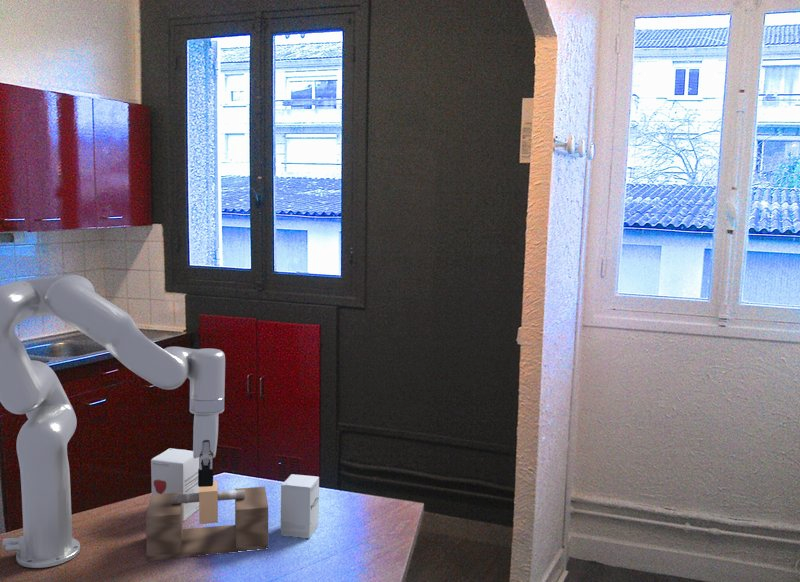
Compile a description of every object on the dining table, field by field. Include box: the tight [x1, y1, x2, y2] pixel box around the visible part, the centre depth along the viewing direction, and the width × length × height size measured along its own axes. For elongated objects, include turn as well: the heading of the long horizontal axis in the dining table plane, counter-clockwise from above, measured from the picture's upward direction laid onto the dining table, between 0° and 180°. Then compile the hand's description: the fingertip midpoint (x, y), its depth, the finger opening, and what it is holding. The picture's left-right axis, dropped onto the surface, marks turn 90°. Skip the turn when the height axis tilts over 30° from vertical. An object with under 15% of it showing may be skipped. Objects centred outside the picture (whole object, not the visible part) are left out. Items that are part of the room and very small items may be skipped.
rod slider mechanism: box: [145, 486, 269, 562], centre depth 167 cm, size 26×12×12 cm, turn 104°
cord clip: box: [198, 480, 219, 525], centre depth 166 cm, size 4×6×8 cm, turn 14°
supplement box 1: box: [150, 447, 199, 522], centre depth 182 cm, size 9×9×15 cm
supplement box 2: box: [280, 473, 320, 540], centre depth 174 cm, size 7×7×13 cm
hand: (205, 477), depth 165 cm, fingers open, 9 cm apart
